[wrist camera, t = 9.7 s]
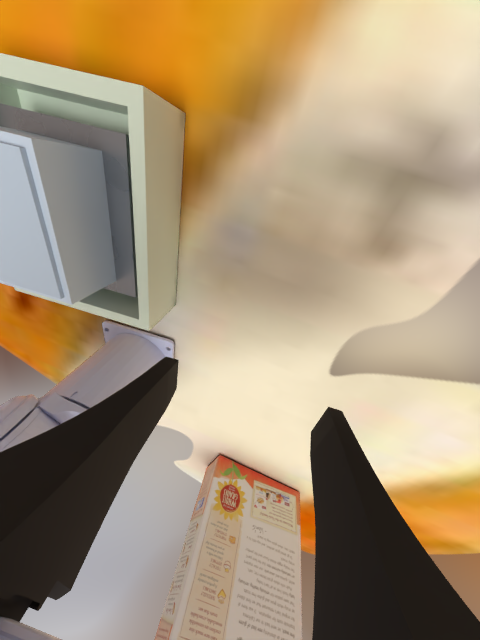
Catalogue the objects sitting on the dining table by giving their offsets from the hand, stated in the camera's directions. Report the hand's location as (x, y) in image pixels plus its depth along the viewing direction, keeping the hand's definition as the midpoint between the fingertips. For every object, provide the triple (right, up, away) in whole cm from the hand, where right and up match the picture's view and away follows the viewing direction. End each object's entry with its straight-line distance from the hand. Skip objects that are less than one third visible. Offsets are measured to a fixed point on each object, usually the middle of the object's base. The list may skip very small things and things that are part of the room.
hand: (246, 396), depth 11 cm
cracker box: (+2, -21, +25) cm, 33 cm away
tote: (-11, +12, +7) cm, 18 cm away
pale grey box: (-11, +11, +4) cm, 16 cm away
